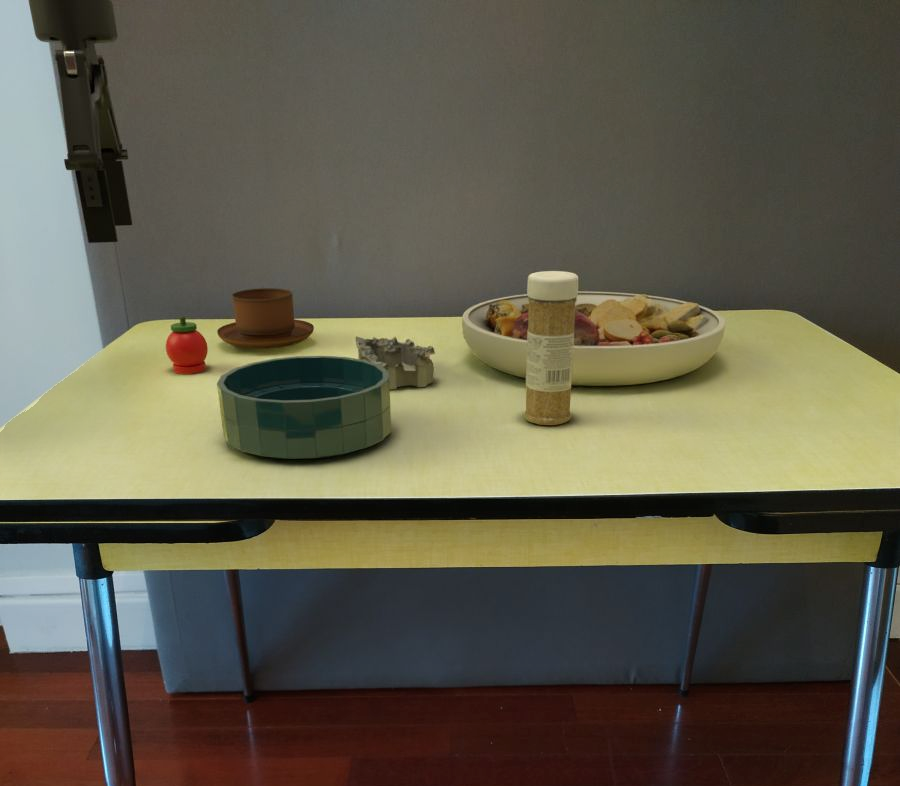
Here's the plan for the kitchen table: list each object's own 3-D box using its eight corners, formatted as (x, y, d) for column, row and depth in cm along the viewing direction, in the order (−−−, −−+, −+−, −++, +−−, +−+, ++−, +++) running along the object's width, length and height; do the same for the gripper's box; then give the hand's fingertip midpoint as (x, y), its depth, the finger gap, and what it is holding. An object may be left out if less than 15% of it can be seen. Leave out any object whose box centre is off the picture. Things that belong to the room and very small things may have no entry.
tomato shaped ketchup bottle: (180, 377, 102) (171, 323, 99) (162, 369, 105) (154, 316, 102) (217, 370, 105) (210, 316, 102) (199, 362, 108) (192, 310, 105)
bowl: (494, 324, 124) (495, 263, 120) (722, 337, 117) (730, 273, 113) (431, 384, 99) (429, 309, 95) (715, 404, 92) (727, 325, 88)
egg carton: (438, 387, 98) (438, 349, 96) (369, 392, 96) (367, 354, 94) (418, 362, 107) (417, 326, 105) (354, 366, 105) (352, 330, 103)
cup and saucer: (214, 337, 119) (208, 288, 116) (305, 330, 122) (301, 282, 119) (224, 359, 109) (217, 306, 106) (323, 351, 112) (319, 299, 109)
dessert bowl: (279, 478, 75) (273, 413, 72) (196, 433, 85) (188, 374, 82) (424, 438, 83) (423, 379, 81) (333, 401, 94) (329, 347, 91)
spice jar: (566, 411, 90) (574, 269, 83) (574, 426, 86) (582, 278, 79) (520, 412, 90) (525, 269, 83) (525, 427, 86) (530, 278, 79)
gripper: (91, -21, 76) (136, 248, 86) (125, 4, 97) (158, 218, 108) (-4, -22, 75) (53, 251, 85) (52, 4, 96) (92, 220, 107)
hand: (112, 233), depth 96 cm, fingers open, 13 cm apart
